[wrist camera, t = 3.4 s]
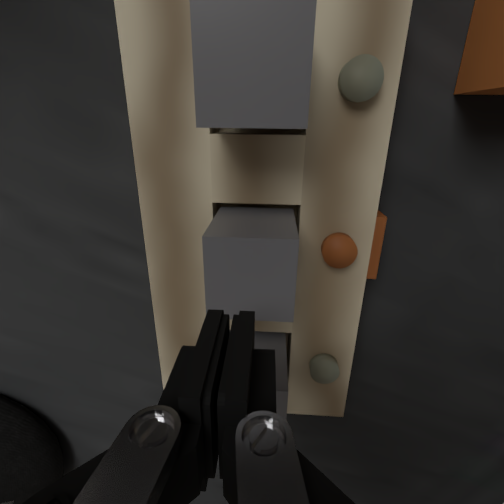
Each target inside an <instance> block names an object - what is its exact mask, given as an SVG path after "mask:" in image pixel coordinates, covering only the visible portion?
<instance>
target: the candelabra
mask: <svg viewBox="0 0 504 504" xmlns="http://www.w3.org/2000/svg"><path fill="white" fill-rule="evenodd" d="M63 471H64V468H63V452H62V450H61V448H60V446H59V443H58V440H57V436H56V435H55V434H54V433H53V432H52V431H51V430H50V429H49V427H48V426H47V425H46V423H45V422H44V420H42V419H41V418H39V417H38V416H36V415H35V414H34V413H32V412H31V411H30V410H29V409H28V408H26V407H25V406H23V405H21V404H19V403H16V402H14V401H12V400H10V399H8V398H7V397H5V396H3V395H0V503H4V502H10V501H14V502H15V504H22V503H23V502H25V501H26V500H27V499H29V498H30V497H31V496H33V495H34V494H36V493H37V492H39V491H40V490H42V489H44V488H45V487H47V486H49V485H50V484H52V483H54V482H55V481H57V480H59V479H60V478H62V476H63Z"/></svg>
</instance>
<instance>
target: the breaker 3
mask: <svg viewBox="0 0 504 504" xmlns="http://www.w3.org/2000/svg"><path fill="white" fill-rule="evenodd" d="M254 349H274V350H275V364H276V412H277V414H278V415H280V416H281V417H283V418H284V419H285V420H286V417H287V404H288V375H287V354H286V334H285V333H283V332H263V331H255V337H254Z"/></svg>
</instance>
